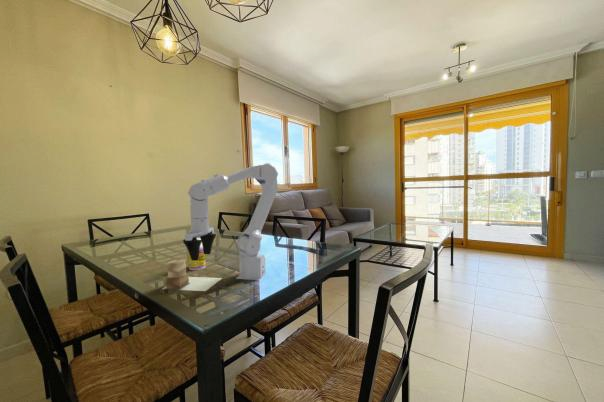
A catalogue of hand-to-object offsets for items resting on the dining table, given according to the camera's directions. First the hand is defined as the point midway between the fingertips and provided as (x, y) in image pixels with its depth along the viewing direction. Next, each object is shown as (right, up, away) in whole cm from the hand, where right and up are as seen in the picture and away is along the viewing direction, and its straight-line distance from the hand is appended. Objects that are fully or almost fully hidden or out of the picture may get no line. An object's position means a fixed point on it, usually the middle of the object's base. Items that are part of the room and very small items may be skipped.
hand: (201, 257), depth 87 cm
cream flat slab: (-4, -10, +2) cm, 11 cm away
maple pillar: (-8, -6, 0) cm, 10 cm away
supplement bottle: (-10, -10, +20) cm, 25 cm away
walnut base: (-8, -10, 0) cm, 13 cm away
